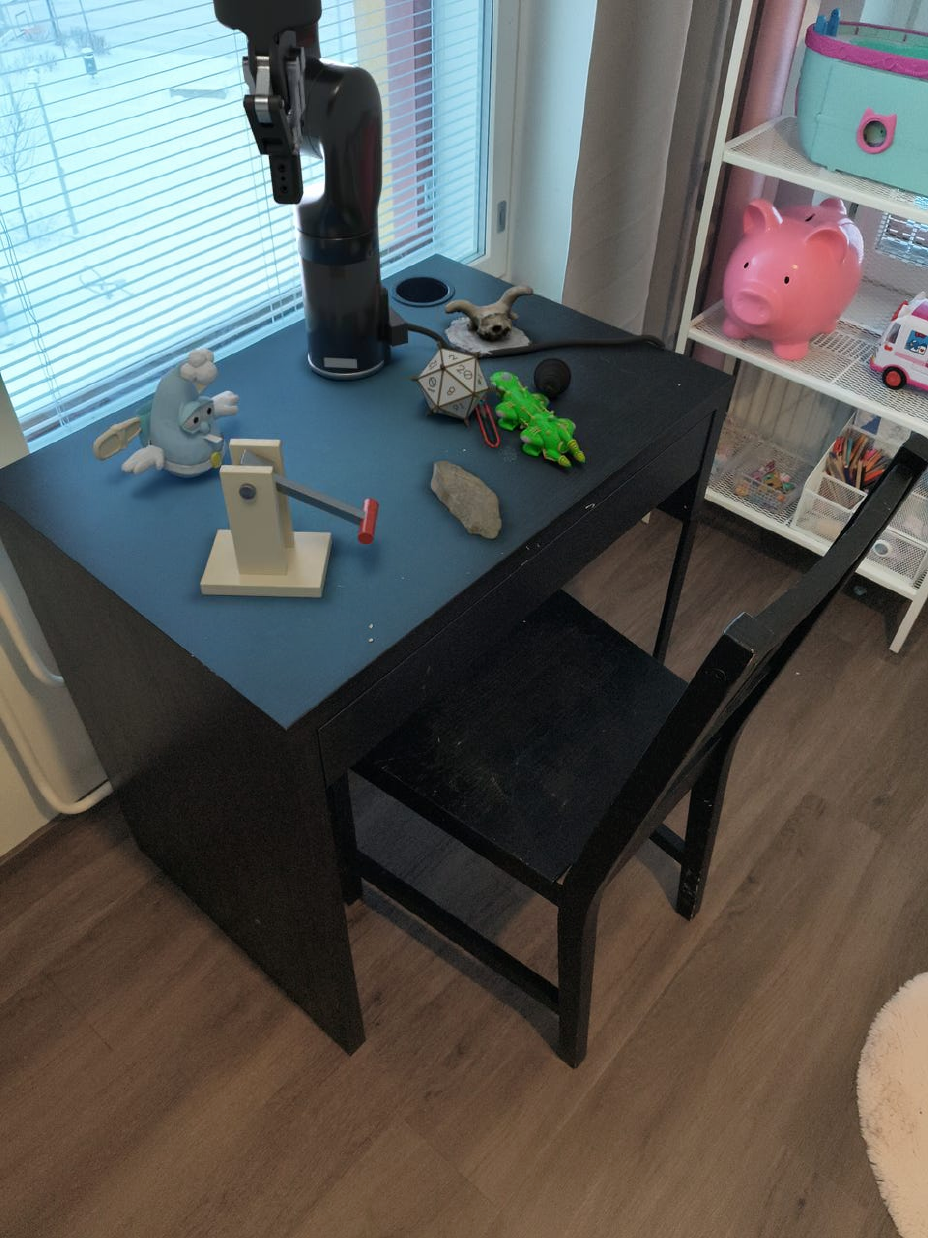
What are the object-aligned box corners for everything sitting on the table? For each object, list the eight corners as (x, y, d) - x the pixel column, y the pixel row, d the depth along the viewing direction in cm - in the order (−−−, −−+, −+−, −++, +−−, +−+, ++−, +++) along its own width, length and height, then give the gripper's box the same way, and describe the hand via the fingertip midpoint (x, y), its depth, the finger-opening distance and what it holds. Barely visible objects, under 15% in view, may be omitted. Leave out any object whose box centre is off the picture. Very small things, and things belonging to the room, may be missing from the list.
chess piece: (558, 402, 117) (555, 417, 108) (526, 383, 117) (520, 396, 108) (578, 369, 116) (577, 382, 107) (546, 350, 115) (542, 360, 106)
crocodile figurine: (519, 389, 118) (521, 356, 115) (602, 468, 107) (607, 434, 104) (470, 402, 116) (471, 369, 113) (549, 484, 104) (552, 450, 101)
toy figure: (180, 528, 98) (148, 396, 88) (101, 496, 102) (61, 365, 92) (282, 445, 109) (264, 318, 99) (207, 419, 113) (182, 294, 102)
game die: (467, 437, 117) (522, 375, 112) (438, 450, 110) (495, 384, 105) (415, 382, 118) (467, 318, 112) (382, 392, 110) (436, 324, 105)
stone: (472, 552, 98) (515, 544, 100) (478, 531, 96) (522, 523, 98) (415, 470, 105) (457, 464, 108) (420, 448, 103) (462, 443, 106)
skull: (440, 329, 130) (434, 288, 126) (524, 309, 131) (522, 268, 127) (458, 370, 123) (453, 328, 119) (547, 350, 124) (545, 307, 120)
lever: (372, 516, 93) (383, 498, 91) (367, 550, 89) (378, 532, 88) (239, 459, 89) (248, 439, 87) (227, 493, 85) (237, 472, 84)
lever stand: (332, 542, 97) (320, 431, 88) (321, 598, 91) (307, 484, 83) (220, 539, 97) (197, 427, 88) (202, 594, 92) (175, 481, 83)
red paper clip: (503, 444, 109) (503, 449, 110) (480, 376, 119) (480, 381, 119) (486, 445, 109) (486, 450, 109) (464, 377, 119) (464, 382, 119)
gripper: (302, -36, 63) (325, 236, 75) (328, -76, 72) (345, 171, 84) (183, -38, 63) (225, 233, 75) (225, -78, 72) (257, 169, 84)
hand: (289, 200), depth 79 cm, fingers closed
